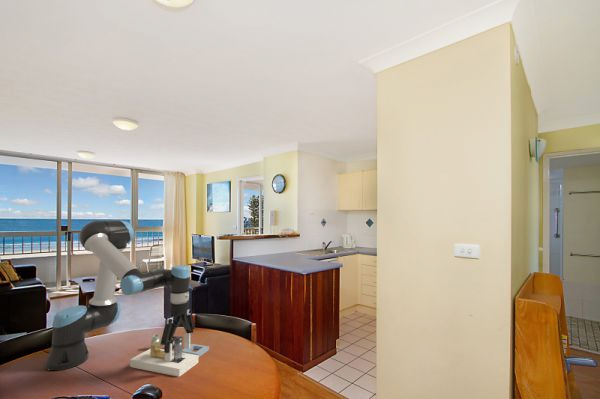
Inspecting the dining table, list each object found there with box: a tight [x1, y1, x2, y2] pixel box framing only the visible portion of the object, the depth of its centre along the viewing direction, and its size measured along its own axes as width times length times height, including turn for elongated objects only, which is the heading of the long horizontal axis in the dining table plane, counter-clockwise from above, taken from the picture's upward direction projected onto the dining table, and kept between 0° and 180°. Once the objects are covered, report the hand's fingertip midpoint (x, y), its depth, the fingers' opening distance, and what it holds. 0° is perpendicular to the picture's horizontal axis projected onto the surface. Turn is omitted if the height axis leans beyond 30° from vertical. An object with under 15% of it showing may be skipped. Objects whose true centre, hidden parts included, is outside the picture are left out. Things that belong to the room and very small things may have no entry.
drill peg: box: [173, 336, 184, 363], centre depth 121 cm, size 3×3×12 cm
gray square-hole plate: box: [182, 343, 210, 358], centre depth 135 cm, size 10×8×2 cm
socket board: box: [129, 348, 200, 378], centre depth 123 cm, size 26×12×4 cm, turn 73°
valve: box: [150, 333, 178, 350], centre depth 140 cm, size 7×7×12 cm
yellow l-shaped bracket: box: [150, 342, 165, 358], centre depth 124 cm, size 9×3×5 cm, turn 73°
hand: (178, 353), depth 121 cm, fingers open, 11 cm apart
